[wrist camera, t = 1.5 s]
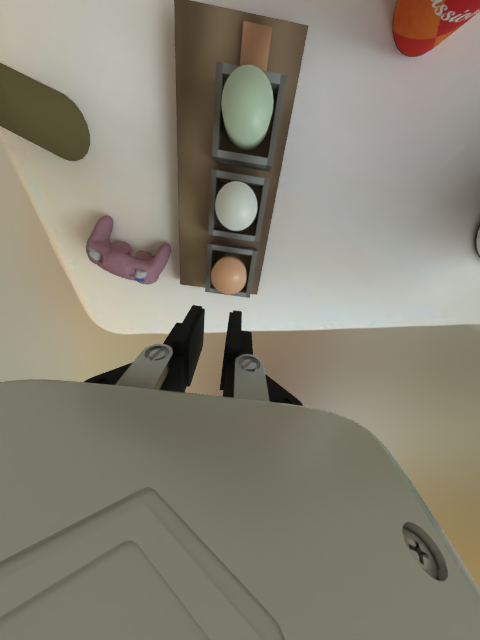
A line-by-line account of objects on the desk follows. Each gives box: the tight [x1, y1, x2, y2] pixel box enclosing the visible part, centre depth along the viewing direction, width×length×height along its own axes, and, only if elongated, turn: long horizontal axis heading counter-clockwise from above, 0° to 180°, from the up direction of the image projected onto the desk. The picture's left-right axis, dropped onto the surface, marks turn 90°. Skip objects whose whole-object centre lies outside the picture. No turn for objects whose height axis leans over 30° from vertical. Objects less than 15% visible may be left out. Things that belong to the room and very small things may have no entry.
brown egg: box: [211, 255, 246, 295], centre depth 24 cm, size 4×4×3 cm
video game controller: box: [86, 216, 171, 284], centre depth 26 cm, size 10×5×7 cm, turn 65°
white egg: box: [215, 181, 257, 231], centre depth 20 cm, size 4×4×3 cm
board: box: [174, 0, 308, 298], centre depth 22 cm, size 12×26×4 cm, turn 172°
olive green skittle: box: [0, 63, 90, 161], centre depth 17 cm, size 6×6×11 cm
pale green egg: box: [221, 65, 273, 151], centre depth 17 cm, size 4×4×3 cm
